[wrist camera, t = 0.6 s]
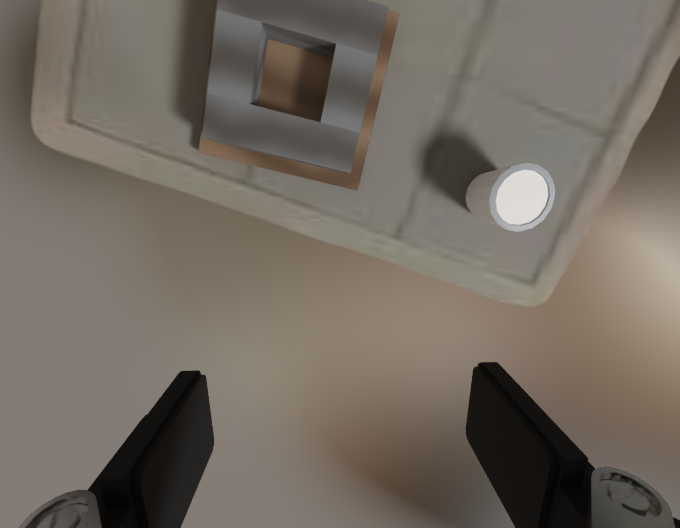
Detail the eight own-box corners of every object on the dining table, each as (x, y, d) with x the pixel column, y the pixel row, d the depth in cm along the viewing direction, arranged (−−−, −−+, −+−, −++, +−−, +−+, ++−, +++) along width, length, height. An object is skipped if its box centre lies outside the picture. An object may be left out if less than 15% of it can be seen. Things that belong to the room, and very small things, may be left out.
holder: (225, -31, 31) (207, -70, 27) (396, 20, 33) (408, -8, 28) (203, 153, 36) (184, 149, 31) (356, 189, 37) (361, 191, 33)
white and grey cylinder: (451, 213, 39) (478, 220, 32) (474, 158, 37) (507, 152, 30) (500, 230, 40) (536, 240, 33) (524, 177, 38) (568, 175, 31)
